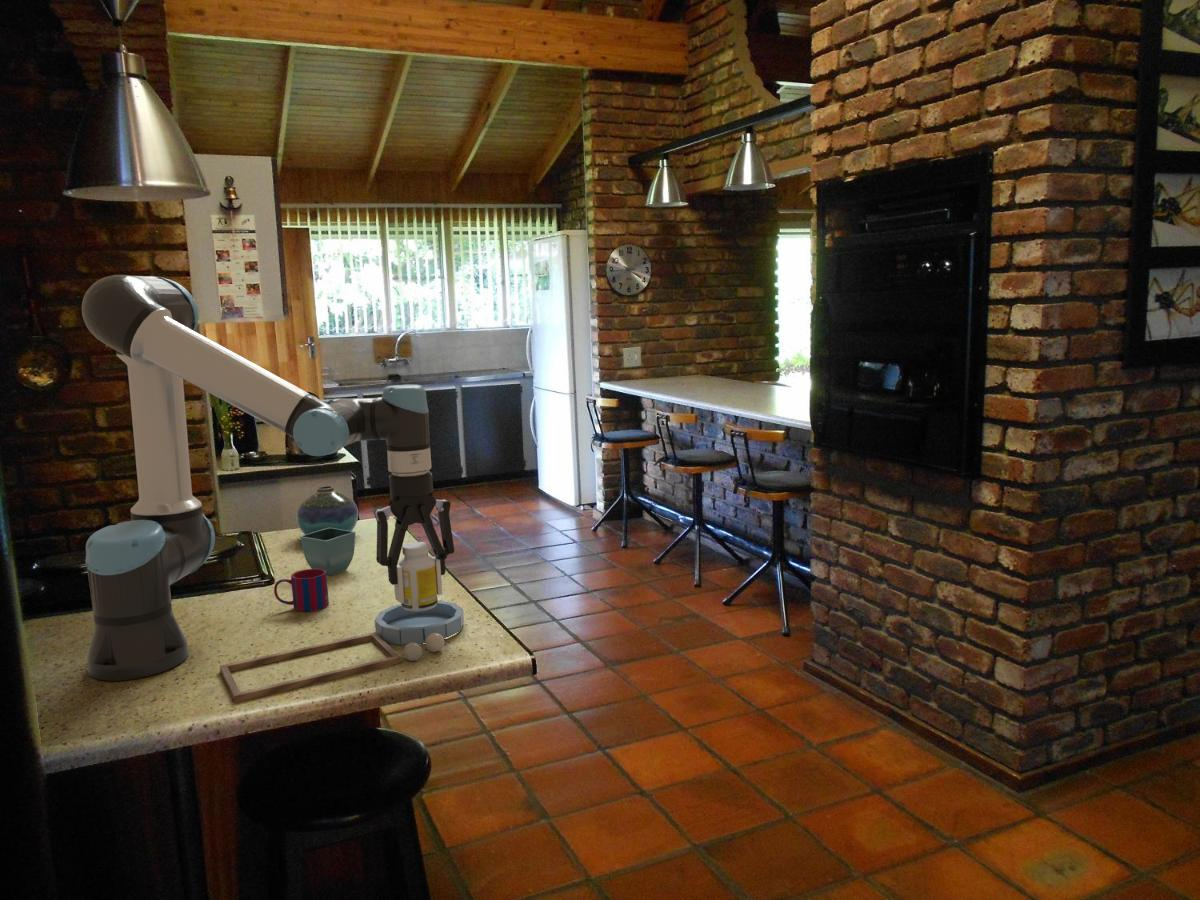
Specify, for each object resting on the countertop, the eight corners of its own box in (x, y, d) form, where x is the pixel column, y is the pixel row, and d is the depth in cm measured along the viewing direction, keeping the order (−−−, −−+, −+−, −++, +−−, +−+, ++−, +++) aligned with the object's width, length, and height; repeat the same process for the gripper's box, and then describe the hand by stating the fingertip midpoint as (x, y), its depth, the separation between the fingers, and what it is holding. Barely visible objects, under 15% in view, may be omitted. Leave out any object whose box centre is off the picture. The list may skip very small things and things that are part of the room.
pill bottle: (444, 603, 163) (440, 541, 161) (425, 614, 157) (421, 551, 155) (414, 599, 165) (410, 539, 163) (394, 610, 159) (389, 548, 157)
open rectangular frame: (235, 702, 134) (234, 696, 133) (220, 671, 145) (219, 665, 145) (401, 662, 147) (401, 657, 147) (375, 637, 159) (375, 632, 158)
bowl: (393, 652, 151) (392, 636, 151) (366, 626, 164) (365, 611, 164) (476, 633, 159) (475, 617, 159) (444, 609, 172) (443, 595, 172)
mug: (328, 609, 174) (326, 576, 173) (275, 615, 172) (272, 582, 171) (329, 599, 181) (326, 567, 180) (277, 605, 178) (274, 572, 177)
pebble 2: (430, 656, 149) (428, 638, 149) (423, 650, 152) (422, 632, 151) (447, 652, 151) (446, 634, 150) (441, 646, 154) (439, 628, 153)
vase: (322, 528, 240) (318, 480, 238) (371, 531, 235) (367, 482, 233) (285, 543, 226) (281, 492, 224) (337, 546, 221) (332, 494, 219)
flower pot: (329, 580, 194) (325, 540, 192) (301, 574, 198) (298, 536, 197) (359, 569, 201) (356, 531, 199) (332, 564, 206) (329, 527, 204)
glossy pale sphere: (407, 665, 146) (406, 647, 145) (401, 659, 148) (400, 642, 148) (425, 661, 147) (423, 643, 147) (418, 655, 150) (417, 638, 149)
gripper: (362, 482, 149) (372, 613, 153) (469, 468, 159) (476, 591, 163) (349, 475, 155) (359, 601, 159) (453, 462, 165) (460, 581, 169)
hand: (418, 596), depth 161 cm, fingers closed on pill bottle, 6 cm apart
